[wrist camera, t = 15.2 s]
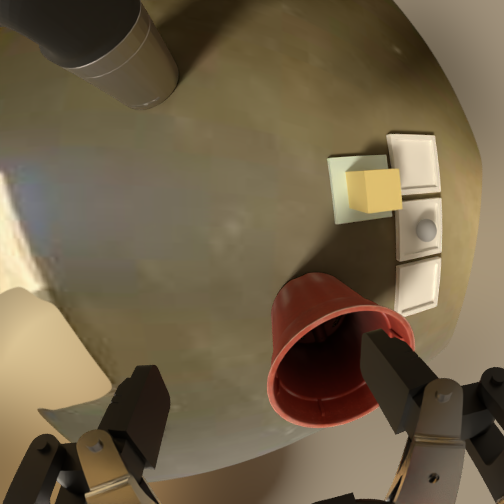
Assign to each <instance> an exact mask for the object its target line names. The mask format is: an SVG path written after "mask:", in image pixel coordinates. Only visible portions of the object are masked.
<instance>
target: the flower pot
mask: <svg viewBox="0 0 504 504" xmlns="http://www.w3.org/2000/svg"><path fill="white" fill-rule="evenodd" d="M340 315H341V318H340V319H339V321H338V323H337V324H336V326H334V327H333V326H332V325H333V323H335V320H336V319H337V317H338V316H340ZM271 318H272V334H273V355H272V361H271V368H270V371H269V375H268V380H267V393H268V397H269V401H270V403H271V405H272V407H273V409H274V410H275V411H276V412H277V413H278V414H279V415H280V416H281V417H282V418H284V419H285V420H287V421H289V422H291V423H293V424H296V425H300V426H304V427H312V428H325V427H333V426H338V425H342V424H346V423H348V422H351V421H354V420H356V419H358V418H361V417H363V416H365V415H367V414H368V413H370V412H372V411H373V410H375V409H376V408H378V407H379V404H378V403H377V401H376V399H375V397H374V396H373V394H372V392H371V391H370V389H369V387H368V385H367V384H366V382H365V380H364V379H363V376H362V373H361V369H360V359H361V342H362V335H363V333H366V332H370V331H373V330H377V329H380V328H381V329H383V330H384V331H385V332H386V333H387V335H388V336H389V337H390V338H393V337H396V338H398V339H400V340H402V341H405V342H406V343H407V344H408V345H409V346H410V347H411V348H412V349H413V351H414V352H415V339H414V333H413V330H412V328H411V326H410V324H409V322H408V321H407V320H406V319H405V318H404V317H403V316H402V315H401V314H399V313H398V312H396V311H394V310H392V309H389V308H387V307H383V306H379V305H378V304H376V303H374V302H372V301H370V300H367V299H365V298H363V297H362V296H360V295H359V294H358V293H356V292H355V291H353V290H352V289H351V288H349V287H348V286H346V285H345V284H344V283H342V282H341V281H340V280H338V279H337V278H335V277H333V276H331V275H329V274H325V273H316V272H315V273H307V274H305V275H303V276H301V277H298V278H296V279H293V280H291V281H289V282H288V283H287V284H286V285H285V286H284V287H283V288H282V289H281V290H280V291H279V293H278V294H277V296H276V298H275V300H274V303H273V306H272V311H271ZM302 336H304V337H305V339H300V338H301V337H302Z"/></svg>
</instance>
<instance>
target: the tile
mask: <svg viewBox="0 0 504 504" xmlns="http://www.w3.org/2000/svg"><path fill="white" fill-rule="evenodd" d="M327 161H328V168H329V175H330V183H331V191H332V200H333V209H334V219H335V224H343V223H350V222H357V221H364V220H371V219H378V218H385V217H392V211H384V212H376V213H369V214H368V213H365V212H361V211H357V210H354V209H350V208H349V200H348V191H347V182H346V174H345V172H349V171H361V170H375V169H388V164H387V156H386V155H368V156H351V157H337V158H327Z"/></svg>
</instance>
